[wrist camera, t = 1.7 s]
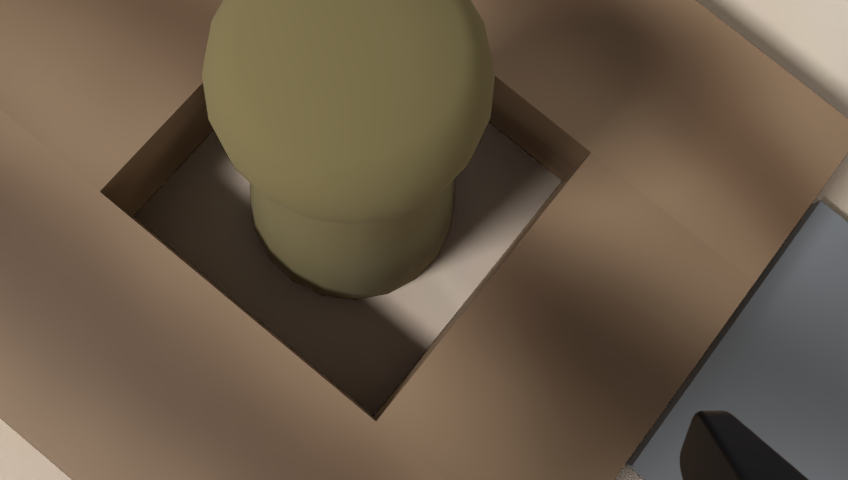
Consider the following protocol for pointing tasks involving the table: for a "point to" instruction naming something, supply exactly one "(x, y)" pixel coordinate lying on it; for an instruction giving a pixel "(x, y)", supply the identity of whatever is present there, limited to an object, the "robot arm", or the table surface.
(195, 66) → the walnut holder block
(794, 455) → the grey mat
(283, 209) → the olive green pawn
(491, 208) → the table surface
